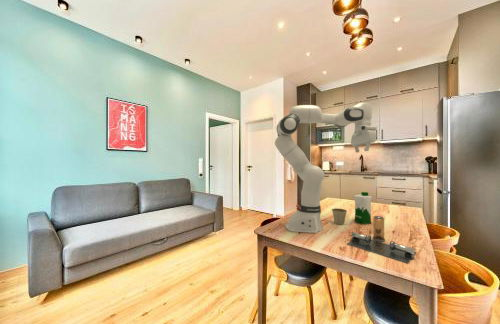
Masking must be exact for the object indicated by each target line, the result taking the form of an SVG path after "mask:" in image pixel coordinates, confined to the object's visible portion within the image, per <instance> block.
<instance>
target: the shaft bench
mask: <svg viewBox="0 0 500 324" xmlns="http://www.w3.org/2000/svg"><path fill="white" fill-rule="evenodd" d="M350 236H351V240H350V241H349V242H347V243H346V245H348V246H350V247H355V248H358V249H361V250H364V251H367V252H370V253H374V254H377V255H380V256H383V257H384V258H385V257H386V258H390V259H392V260H395V261H399V262H401V263H404V262H405V264H407V263H408V264H409V263H410V262H411V260H412V261H413V258H414V257H415V255H416V254H417V251H415V248H414V247H410V246H407V245H403V244H399V243H396V242H395V241H393V240H390V242H389V244H388V243H385V242H378V241H375V240H373V239H372V235H369V234H361V233H358V232H354V231H352V232H351V234H350Z"/></svg>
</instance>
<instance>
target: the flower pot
mask: <svg viewBox="0 0 500 324" xmlns="http://www.w3.org/2000/svg"><path fill="white" fill-rule="evenodd" d="M331 211H332V216H333V217H332V218H333V222H334V224H336V225H344V224H345V220H346V215H347V213H348V210H347V209H345V208H332V209H331Z"/></svg>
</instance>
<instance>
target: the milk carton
mask: <svg viewBox="0 0 500 324" xmlns="http://www.w3.org/2000/svg"><path fill="white" fill-rule="evenodd" d="M372 197H373V196H371V195H369V192H365V191H362V192H361V193H360V194H356V195H353V198H354V220H353V221H354V223H358V224H360V225H368V224H372V216H371V215H372V213H371V212H372V205H371V204H372Z"/></svg>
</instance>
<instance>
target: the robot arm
mask: <svg viewBox="0 0 500 324" xmlns="http://www.w3.org/2000/svg"><path fill="white" fill-rule="evenodd" d="M372 114H373V111H372V106H371V103H369V102H364V101H363V102H359V103H357V104H356V105H353V106H348V107H346V108H345V109H343V110H342V111H339V112H337V113H334V114H333V113H324V112H323V111H322V109H321V107H320V106H319V105H315V104H301V105H295V106H292V107H291V108H290V110H289V111H288V114H287V115H286V116H284V117H283V118H281V119H280V120H279V121H278V123H277V125H276V133H277V137H276V138H275V140H274V145H275V148H276V149H277V150H278V152H279V153H280V155H281V156H282V157H283V158H284V159H285V161H286V162H287V163H288V164H289V165H290V166H291V168H292V169H293V171H294V172H295V173H296V174H297V176H298V177H299V178H300V180H301V181H303V183H302V188H301V191H300V195H301V196H300V202H301V203H300V204H297V203H296V204H295V206H296V208H297V210H296V211H295V212H293V214H291V215H289V219H288V222H286V223H285V229H286V230H288V231H289V232H292V233H294V232H295V233H311V234H318V233H319V232H321V231H322V230H323V229H324V228H323V225H322V224H323V223H322V221H321V220H322V219H321V213H322V212H321V211H322V207H321V198H320V197H321V188H322V183H323V180H324V179H325V172H324V170H323V169H322V168H321V167H320V166H317V165H313V164H312V163H311V162H310V161H309V159H308V158H307V156H306V154H305V152H304V151H303V150H302V149H301V148H300V147H299V146H298V144H297V143H296V142H295V141H294V140H293V138H292V134H294V133H296V131H297V130H298V128H299V124H327V125H328V124H329V125H334V126H337V127H339V128H344V127H347V126H349V125H350V124H354V132H353V134H352V135H351V139H350V146H352V147H354V150H355V153H356V154H358V153H360V149H359V147H360V146H364V145H365V148H364V149H363V150H364V152H369V150H370V147H371V145H372V144H374V143H375V142H376V140H377V130H378V127H377V126H375V125H372V117H373V115H372Z"/></svg>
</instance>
